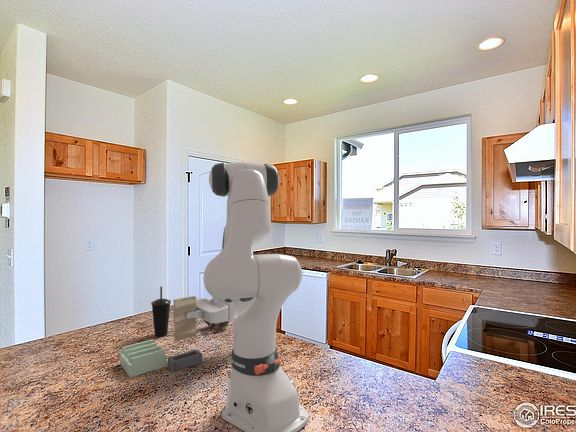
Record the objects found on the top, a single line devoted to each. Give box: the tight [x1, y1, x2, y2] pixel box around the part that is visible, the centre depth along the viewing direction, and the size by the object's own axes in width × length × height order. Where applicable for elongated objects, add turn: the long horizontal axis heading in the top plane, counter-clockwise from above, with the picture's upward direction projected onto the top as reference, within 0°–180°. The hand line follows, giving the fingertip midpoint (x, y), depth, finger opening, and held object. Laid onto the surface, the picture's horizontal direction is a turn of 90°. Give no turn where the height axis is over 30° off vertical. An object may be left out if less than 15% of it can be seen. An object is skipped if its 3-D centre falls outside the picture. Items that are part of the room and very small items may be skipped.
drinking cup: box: [150, 285, 172, 338], centre depth 130 cm, size 8×8×20 cm
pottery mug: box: [203, 320, 230, 332], centre depth 138 cm, size 12×10×8 cm
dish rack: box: [119, 338, 168, 378], centre depth 103 cm, size 12×11×6 cm
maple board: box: [173, 295, 197, 342], centre depth 104 cm, size 2×7×13 cm, turn 132°
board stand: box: [167, 348, 203, 373], centre depth 104 cm, size 4×10×3 cm, turn 132°
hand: (183, 314), depth 103 cm, fingers closed on maple board, 2 cm apart
